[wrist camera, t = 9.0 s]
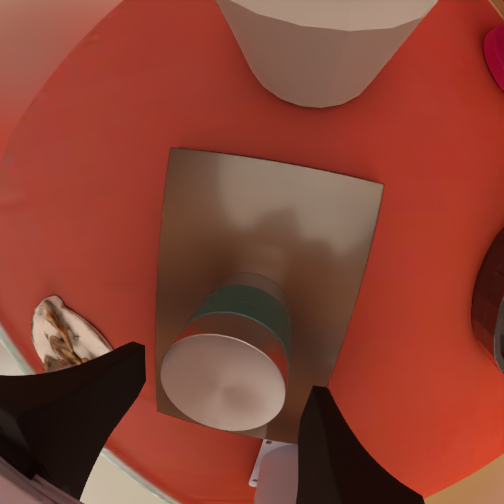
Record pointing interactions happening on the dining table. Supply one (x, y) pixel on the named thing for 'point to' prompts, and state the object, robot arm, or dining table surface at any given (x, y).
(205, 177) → the board
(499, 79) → the pepper mill
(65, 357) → the frog figurine
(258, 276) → the tin can
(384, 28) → the can
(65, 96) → the dining table surface
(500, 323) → the pan
